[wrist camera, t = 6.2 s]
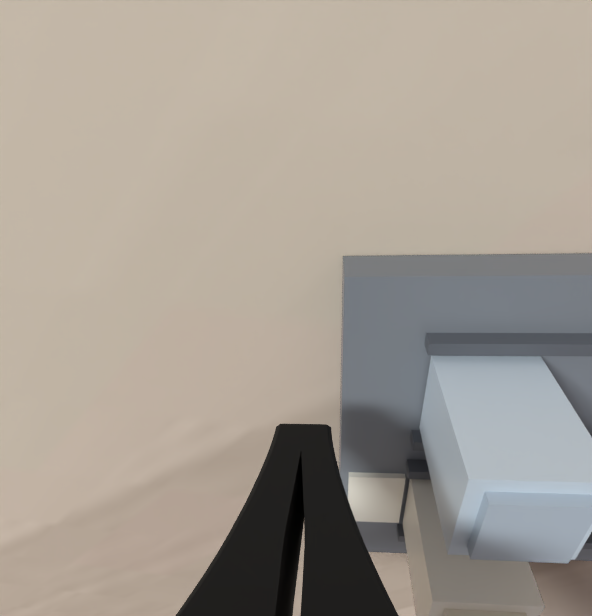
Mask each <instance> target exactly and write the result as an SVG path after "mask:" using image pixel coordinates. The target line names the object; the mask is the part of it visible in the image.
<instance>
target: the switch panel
mask: <svg viewBox="0 0 592 616" xmlns="http://www.w3.org/2000/svg"><path fill="white" fill-rule="evenodd" d="M431 356H541V357H542V359H543V361H544V362H545V364H546V365H547V367H548V369H549V370H550V372H551V373H552V375H553V376H554V378H555V380H556V381H557V383H558V384H559V386H560V388H561V389H562V391H563V392H564V394H565V396H566V397H567V399H568V400H569V402H570V403H571V405H572V407H573V408H574V410H575V411H576V413H577V415H578V416H579V418H580V419H581V421H582V423H583V424H584V426H585V427H586V429H587V431H588V432H589V434H590V435H591V437H592V253H588V254H493V255H399V256H343V288H342V344H341V401H340V457H339V473H340V476H341V480H342V483H343V486H344V489H345V492H346V495H347V498H348V501H349V504H350V507H351V510H352V513H353V515H354V518H355V521H356V523H357V526H358V528H359V531H360V533H361V536H362V538H363V541H364V543H365V546H366V548H367V550H368V552H390V553H407V550H406V544H405V537H404V530H403V517H404V511H405V505H406V499H407V493H408V487H409V480H410V479H424V480H431V478H430V473H429V469H428V464H427V460H426V455H425V451H424V446H423V442H422V437H421V433H420V428H419V427H420V421H421V415H422V409H423V402H424V396H425V390H426V384H427V378H428V372H429V366H430V360H431ZM575 560H583V561H592V532H591V534H590V536H589V537H588V539H587V541H586V542H585V544H584V546H583V547H582V549H581V551H580V552H579V554H578V556H577V557H576V559H575Z"/></svg>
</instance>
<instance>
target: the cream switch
mask: <svg viewBox="0 0 592 616" xmlns="http://www.w3.org/2000/svg"><path fill="white" fill-rule="evenodd" d="M403 530H404V537H405V544H406V550H407V557H408V564H409V571H410V578H411V585H412V592H413V598H414V605H415V612H416V616H540V615H541V613H542V611H543V610H544V608H545V605H544V603H543V600H542V597H541V595H540V592H539V589H538V586H537V584H536V581H535V578H534V576H533V573H532V570H531V567H530V565H529V562H521V561H498V560H474V559H470V556H469V555H449V554H447V550H446V546H445V541H444V537H443V532H442V528H441V523H440V519H439V514H438V510H437V505H436V501H435V496H434V491H433V487H432V482H431V480H424V479H410V480H409V487H408V493H407V499H406V505H405V511H404V517H403Z"/></svg>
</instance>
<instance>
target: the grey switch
mask: <svg viewBox="0 0 592 616" xmlns="http://www.w3.org/2000/svg"><path fill="white" fill-rule="evenodd" d="M419 428H420V433H421V437H422V442H423V446H424V451H425V455H426V460H427V464H428V469H429V473H430V478H431V482H432V487H433V491H434V496H435V501H436V505H437V510H438V514H439V519H440V523H441V528H442V532H443V537H444V541H445V546H446V550H447V554H449V555H469V556H470V559H474V560H498V561H521V562H545V563H569V562H570V560H575V559H576V557H577V556H578V554H579V552H580V551H581V549H582V547H583V546H584V544H585V542H586V541H587V539H588V537H589V536H590V534H591V532H592V437H591V435H590V434H589V432H588V431H587V429H586V427H585V426H584V424H583V423H582V421H581V419H580V418H579V416H578V415H577V413H576V411H575V410H574V408H573V407H572V405H571V403H570V402H569V400H568V399H567V397H566V396H565V394H564V392H563V391H562V389H561V388H560V386H559V384H558V383H557V381H556V380H555V378H554V376H553V375H552V373H551V372H550V370H549V369H548V367H547V365H546V364H545V362H544V361H543V359H542V357H541V356H431V360H430V366H429V372H428V378H427V384H426V390H425V396H424V402H423V409H422V415H421V421H420V427H419Z"/></svg>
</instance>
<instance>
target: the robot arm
mask: <svg viewBox="0 0 592 616" xmlns="http://www.w3.org/2000/svg"><path fill="white" fill-rule="evenodd" d="M303 523H305V551H304V569H303V586H302V603H301V616H398V614H397V612H396V610H395V608H394V606H393V604H392V602H391V600H390V598H389V596H388V594H387V592H386V590H385V588H384V586H383V584H382V581H381V579H380V577H379V575H378V573H377V571H376V568H375V566H374V564H373V562H372V560H371V557H370V555H369V553H368V550H367V548H366V546H365V543H364V541H363V538H362V536H361V533H360V531H359V528H358V526H357V523H356V521H355V518H354V515H353V513H352V510H351V507H350V504H349V501H348V498H347V495H346V492H345V489H344V486H343V483H342V480H341V476H340V473H339V469H338V465H337V461H336V457H335V453H334V448H333V442H332V434H331V427H329V426H328V425H321V424H280V425H278V426H277V427H276V431H275V434H274V437H273V440H272V443H271V446H270V449H269V452H268V454H267V457H266V459H265V462H264V464H263V466H262V469H261V471H260V473H259V476H258V478H257V480H256V482H255V484H254V486H253V488H252V491H251V493H250V495H249V497H248V499H247V501H246V503H245V505H244V507H243V509H242V510H241V512H240V514H239V516H238V518H237V520H236V522H235V523H234V525H233V527H232V529H231V531H230V533H229V534H228V536H227V538H226V540H225V541H224V543H223V545H222V546H221V548H220V550H219V551H218V553H217V555H216V556H215V558H214V559H213V561H212V563H211V564H210V566H209V567H208V569H207V571H206V572H205V574H204V575H203V577H202V578H201V580H200V581H199V583H198V584H197V586H196V587H195V589H194V590H193V591H192V593H191V594H190V596H189V597H188V599H187V600H186V602H185V603H184V605H183V606H182V607H181V609H180V610H179V612H178V613H177V614H176V616H292V615H293V604H294V596H295V587H296V579H297V571H298V563H299V555H300V547H301V539H302V531H303Z"/></svg>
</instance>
